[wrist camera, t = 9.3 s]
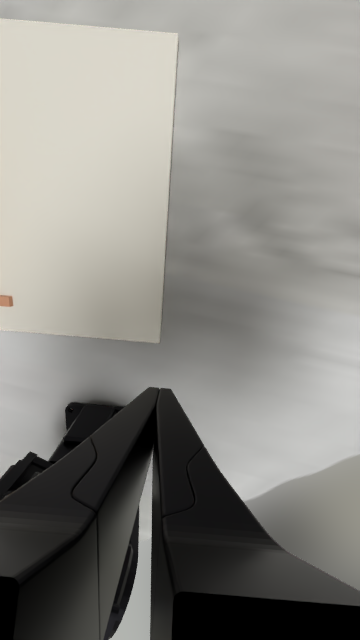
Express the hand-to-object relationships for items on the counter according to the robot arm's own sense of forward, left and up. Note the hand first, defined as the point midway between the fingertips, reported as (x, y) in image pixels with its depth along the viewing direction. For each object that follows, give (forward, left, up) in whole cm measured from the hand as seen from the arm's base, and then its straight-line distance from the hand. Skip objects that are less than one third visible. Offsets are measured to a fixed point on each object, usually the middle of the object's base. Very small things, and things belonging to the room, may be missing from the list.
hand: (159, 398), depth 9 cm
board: (+8, +16, -11) cm, 21 cm away
